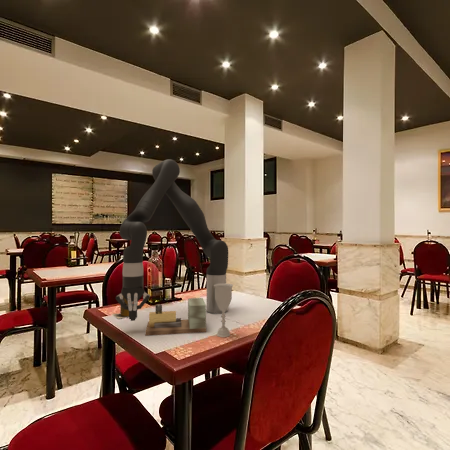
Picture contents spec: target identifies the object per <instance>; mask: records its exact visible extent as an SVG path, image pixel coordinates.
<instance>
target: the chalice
mask: <svg viewBox="0 0 450 450" xmlns="http://www.w3.org/2000/svg"><path fill="white" fill-rule="evenodd" d="M233 286H234V284H231V283H226V284H215V285H214V287H215V300H216V303H217V305H218V307H219V310H221V311H222V313H221V321H220V322H221V327H219V328H218V331H217V333H216V336H217V337H220V338H228V337H230V336H231V333H230V331H229V329H228V327H226V325H225V324H226V322H227V321H226V312H225V311H226V310H227V311H228V309H229V307H230V305H231V303H232V298H233V296H232V295H233V291H232V290H233V289H232V288H233Z"/></svg>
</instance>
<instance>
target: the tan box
mask: <svg viewBox="0 0 450 450" xmlns="http://www.w3.org/2000/svg"><path fill="white" fill-rule="evenodd" d="M176 318H177V311H176V310H169V311H168V310H167V311H164V310H163V305H162V304H160V303H157V304H155V311H150V312H149V315H148V321H149V327H154V323H172V322H176Z"/></svg>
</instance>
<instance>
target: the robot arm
mask: <svg viewBox="0 0 450 450" xmlns="http://www.w3.org/2000/svg"><path fill="white" fill-rule="evenodd" d="M180 169H181V168H180V166H179V164H178V162H176V160H174V159H171V158H170V159H165V160H162V161H161V162H159V163H157V164H156V165H155V166H153V168H152V172H151V175H152V177H153V179H154V183H153V184H152V185H151V186H150V188H148V190H147V191H145V193H144V195H143V196H142V197H141V199H140V200H139V202H138V204H137V205H136V206H135V209H134V210H133V211H132V212H131V213H130V214H129V215H128V216H127V217H126V218H125V219H124V220H123V222H121V224H120V228H119V236H120V238H122V239H123V240H125V241H131V242H130V244H129V246H127V247H125V248H124V249H123V255H122V256H123V259H122V260H123V261H122V262H123V263H122V288H121V290H122V291H120V293H119V294H117V295H116V296H115V300H116V302H117V303H118V304H119V305H121V306H122V307H123V308H124V309H125V310H129V317H128V318H129V320H130V322H132V321H134V322H135V321H136V320H137V318H138V311H139V310H141V309H142V308H143V307H144V305H145V304H146V303H147V301H148V300H149V299H150V296H151V295H150V294H149V293H147V292H146V291H145V290H146V289H144V263H143V261H144V259H143V258H144V257H143V255H144V254H143V252H144V249H145V245H146V244H145V243H146V241H147V236H148V229H147V226H146V225H145V223H147V222H149V221H150V220H151V219H152V217H153V215H154V214H155V212H156V209H157V207H159V204H160V203H161V201H162V199H163V197H164V196H165V195H166V196H167V198H168V199H169V200H170V202H171V203H172V205H173V206H174V208H175V209H176V210H177V212H178V214H179V215H180V217H181V218H182V219H183V221H184V222H185V224H186V225H187V227H188V228H189V229H190V231H191V232H192V234H193V235H194V237H195V238H196V240H197V242H198V244H199V245H200V247H201V249H202V251H203V253H204V255H205V256H206V257H207V258H209V259H210V261H209V266H208V267H207V268H206V313H207V312H208V313H210V314H222V311H221V310H219V307H218V305H217V303H216V300H215V287H214V285H215V284H227V270H228V267H229V246H228V244H227V243H226V242H225V241H223V240H221V239H216V238H215V237H214V236H213V234H212V233H211V231H210V230H209V228H208V224H207V221H206V216H205V214H204V212H203V210H202V208H201V207H200V205H199V204H198V202H197V201H196V200H195V199H194V198H193V197H191V196H190V195H188V194H187V193H185V192H184V191H182V190H181V188H180V187H179V186H178V185H177V183H176V182H175V181H176V180H177V178H179V175H180V173H181V170H180ZM123 297H124V298H125V299H126V300H127V301H128V305H127V304H126V303H125V302H124V300H123ZM141 298H142V299H143V300H142V301H141V302H140V303H139V301H140V300H141ZM133 301H134V307H133V304H132V303H133ZM138 303H139V304H138ZM225 313H228V309H227V310H226V311H225Z"/></svg>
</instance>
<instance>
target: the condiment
mask: <svg viewBox="0 0 450 450" xmlns="http://www.w3.org/2000/svg"><path fill="white" fill-rule="evenodd" d="M121 291H122V289H121ZM121 291H120V292H121ZM123 300H124V302H125V303H126V304H127V305H128V301H127V300H126V299H125V298H124V297H123ZM132 304H133V307H134V301H133V303H132ZM119 305H120V304H119ZM119 307H120V312H119V313H114V314H113V316H114V317H115V318H116V319H118V320H119V319H124V318H129V310H125V309H124V308H123V307H122V306H121V305H120V306H119Z"/></svg>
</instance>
